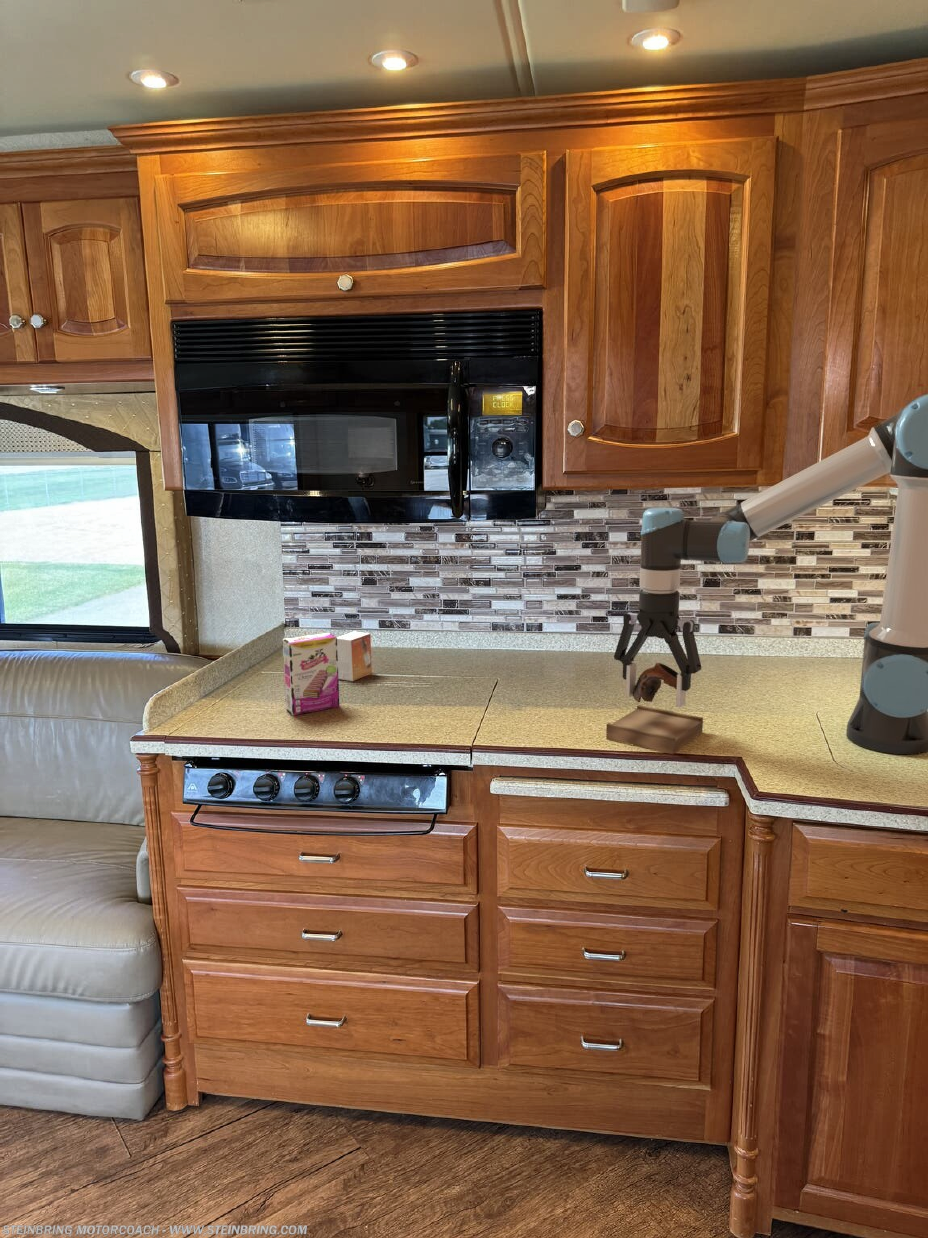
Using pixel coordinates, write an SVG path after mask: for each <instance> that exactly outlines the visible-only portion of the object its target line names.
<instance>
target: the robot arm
mask: <svg viewBox="0 0 928 1238" xmlns="http://www.w3.org/2000/svg"><path fill="white" fill-rule="evenodd" d="M887 474H889V477H891V479H892V480H893V481H894V482H895V483H896V485H897V496H896V503H895V511H894V518H893V524H892V525H893V526H892V531H891V539H890V546H889V547H890V548H889V553H888V554H889V555H888V563H887V569H886V577H885V583H884V585H885V586H884V592H883V597H882V598H883V601H882V606H881V614H880V622H871V623H869V624H867V626H866V627H865V632H864V635H863V640H864V642H863V652H862V662H861V664H862V665H861V675H860V676H861V677H860V685H859V686H860V687H859V697H858V700H857V702H856V704H855V706H854V708H853V711H852V713H851V715H850V717H849V719H848V721H847V724H846V733H845V735H846V738H847V739H848V740H849V741H850V742H852V743H854V744H855V745H857V746H859V747H862V748H866V749H868V750H871V751H876V752H880V753H886V754H896V755H915V754H914V753H918V754H920V753H919V752H923V753H927V752H928V393H927V394H923V395H921V396H919V397H917V398H915V399H913V400H911V401H910V402H909V403H907V404H906V405H905V406H904V407H902V408H901V409H900V410H898V411H897V412H896V413H894V414H893V415H892V416H890V417H889V418H887V419H885V420H884V421H881V422H880V423H879V424H877V425H874V426H873V427H871V428H870V431H869V433H868V435H867V436H865V437H863V438H862V439H860V440H858V441H856V442H854V443H852V444H851V445H849V446H846V447H845V448H842V449H841V450H839V451H837V452H835V453H833V454H832V455H830V456H829V455H828V456H827V457H825V458H823V459H821V460H820V461H818V462H816V463H815V464H812V465H811V466H808V467H807V468H805V469H802V470H801V471H798V473H795V474H793V475H791V476H790V477H788V478H785V479H784V480H782V481H780V482H778V483H776V484H774V485H772V486H770V487H768V488H766V489H765V490H763V491H761V492H759V493H757V494H755V495H753V496H752V497H749V498H748V499H747V498H746V500H744V501H742V502H741V503H738V504H736V505H734V506H732V507H730V508H729V509H726V510H724V511H721V512H719V513H717V514H716V515H714V516H712V518H711V519H710V520H692V519H685V517H684V512H683V510H682V509H681V508H678V507H664V506H663V507H651V508H647V509H645V511H644V512H643V513H642V522H641V523H642V524H641V531H640V565H639V566H640V570H639V571H640V573H639V587H640V590H639V593H638V594H639V595H638V597H639V598H638V608H639V610H638V613H634V612H633V611H630V612H627V613H625V614H623V616H622V617H623V620H622V621H623V626H622V629H621V631H620V632H621V633H620V635H619V639H618V642H617V645H616V649H615V652H614V656H613V659H614V660H616V661H619V662H621V664H622V679H623V680H625V683H626V684H625V698H631V697H633V693H634V689H635V686H636V683H637V662H634V661H635V658H636V657H637V655H638V653H639V651H641V649H642V647H643V645H644V644H645V642H646V640H647V639H648V638H649V637H650V638H654V637H656V638H657V639H663V640H664V642H665V643H666V645H668V648H669V650H670V652H671V654H672V656H673V659H674V660H675V662H676V664H677V667H678V669H679V672H678V673H679V674H678V675H677V690H676V694H675V695H676V696H675V699H676V700H675V708H677V709H678V708H679V709H680V708H682V707H684V705H686V697H687V693H686V692H688V691H689V690H690V689H691V683H692V674H697V673H698V672H700V671H701V670H702V663H701V659H700V655H699V650H698V647H697V642H696V641H697V640H696V638H695V633H694V630H695V621H694V620H692V619H689V620H684V619H681V618H680V616H679V615H680V614H679V610H680V591H679V590H678V589H680V586H681V567H682V566H681V564H682V563H681V562H682V561H697V562H699V561H700V562H712V563H713V562H714V563H724V564H727V565H728V564H730V563H733V564H734V563H735V564H739V563H744V562H746V561H747V559H748V556H749V551H750V542H752V541H755V540H756V539H758V538H760V537H761V536H764V535H765V534H768V533H769V532H771V531H774V530H776V529H778V528H779V527H782V526H784V525H786V524H788V523H790V522H791V521H794V520H795V519H798V518H799V517H802V516H804V515H806V514H808V513H810V512H813V511H814V510H816V509H818V508H820V507H822V506H824V505H826V504H829V503H830V502H832V501H834V500H836V499H838V498H840V497H842V496H844V495H846V494H848V493H850V492H852V491H854V490H856V489H859V488H861V487H863V486H865V485H867V484H868V483H871V482H872V481H875V480H876V479H879V478H881V477H882V476H885V475H887ZM637 622H638V623H639V626H640V627H641V628H640V630H639V631H638V633H637V635H636V637H635V639H634V641H633V642H632V644H631V645H630V647H629V644H630V640H631V637H632V635H633V631H634V628H635V624H637ZM678 627H679V628H680V629H679V630H680V632H681V633H682V641H683V643H684V647H685V651H684V648H683V646H682V644H681V642H680V640H679V635H678V632H677V630H676V629H677V628H678ZM628 647H629V649H628ZM926 751H927V752H926Z"/></svg>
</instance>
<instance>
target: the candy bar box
mask: <svg viewBox="0 0 928 1238" xmlns="http://www.w3.org/2000/svg"><path fill="white" fill-rule="evenodd" d="M337 637H338V636H336V635H334V634H333V633H330V632H323V633H317V634H308V635H302V636H301V635H300V636H294V637H285V638H282V639H281V641H282V643H281V644H282V658H283V672H284V674H283V677H284V679H283V680H284V695H285V697H284V698H285V710H286V711H287V712H289V713H290V714H291V715H292V716H298V715H302V714H303V715H304V714H308V713H313V712H318V711H324V710H329V709H335V708H338V707H340V688H339V687H340V685H339V684H340V682H339V680H340V679H339V677H338V653H337Z"/></svg>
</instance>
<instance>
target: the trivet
mask: <svg viewBox="0 0 928 1238" xmlns="http://www.w3.org/2000/svg"><path fill="white" fill-rule="evenodd" d="M703 723H704V717H702V716H696V715H692V714H686V713H680V712H675V711H671V710H666V709H661V708H656V707H652V706H647V705H642V704H641V705H640V704H638V705H637V706H636V709H634V710H632V711H631V712H629V713H628V714H626V715H625V716H622V717H621V718H619V719H618V720H616V721H614V722H612V723H610V722H607V724H606V732H605V733H606V737H605V738H606V740H609V741H613V740H615V741H614V742H617V741H619V743H622V742H623V744H626V743H627V744H626V745H630V744H633V745H632V746H635V745H637V746H636V747H639V746H640V748H645V749H648V748H650V749H649V750H652V749H654V750H653V751H656V750H657V751H658V752H661V753H665V752H666V754H671V755H674V754H676V753H677V752H678V751H679V750H681V749H682V748H684V746H686V745H688V744H689V743H690V742H691V741H693V740H694V739H696V738H697V737H699V736H700V735H701V734H703V728H704V727H703V726H704V724H703ZM699 734H700V735H699ZM696 736H697V737H696ZM695 737H696V738H695ZM680 748H681V749H680Z"/></svg>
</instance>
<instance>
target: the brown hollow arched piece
mask: <svg viewBox="0 0 928 1238" xmlns="http://www.w3.org/2000/svg"><path fill="white" fill-rule="evenodd" d="M679 673H680V672H677V671H676V670H675V669H673V668H671V667H669V666H667V665H666V664H664V663H660V662H655V665H654V666H652V667H649V668H646V669H645V670H643V672H641V673H640V675H639V677H638V678H637V679H636V686H635V689H634V693H633V696H632V698H633V699H634V700H635V702H637V703H640V702H641V699H642V700H643V701H644V702H649V703H650V702H653V700H654V698H655V696H656V694H657V693H658V691H659V689H661V686H662V681H663V684H665V685H667V686H669V687H671V688H674V689H675V690H676V691H677V675H678V674H679Z"/></svg>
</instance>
